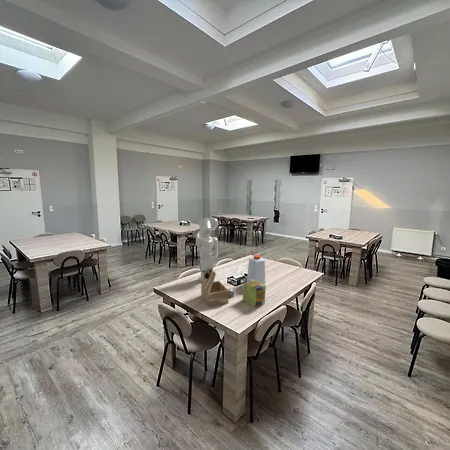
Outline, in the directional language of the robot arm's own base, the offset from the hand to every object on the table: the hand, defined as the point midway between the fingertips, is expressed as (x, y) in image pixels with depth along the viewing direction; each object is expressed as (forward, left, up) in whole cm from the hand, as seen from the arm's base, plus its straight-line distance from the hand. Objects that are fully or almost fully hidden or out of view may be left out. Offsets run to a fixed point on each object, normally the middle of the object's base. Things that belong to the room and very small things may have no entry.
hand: (206, 278), depth 189 cm
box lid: (0, +2, -1) cm, 2 cm away
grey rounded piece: (-1, +22, -19) cm, 29 cm away
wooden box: (0, +7, -19) cm, 20 cm away
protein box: (+15, +35, -19) cm, 43 cm away
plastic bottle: (-14, +54, -19) cm, 59 cm away
